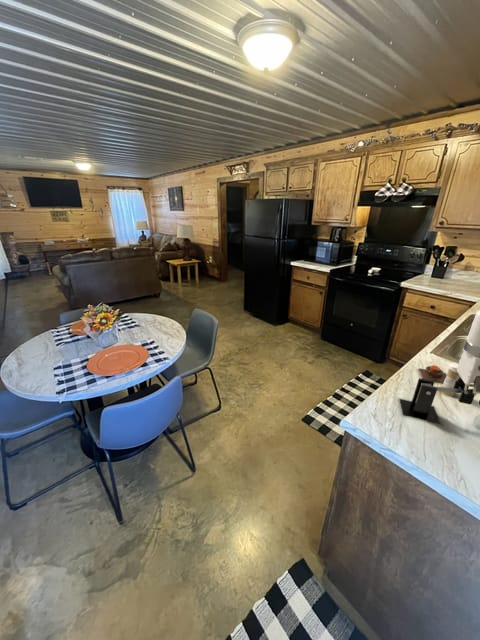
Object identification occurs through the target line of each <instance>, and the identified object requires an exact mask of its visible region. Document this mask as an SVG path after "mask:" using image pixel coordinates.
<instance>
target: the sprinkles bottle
mask: <svg viewBox="0 0 480 640" xmlns="http://www.w3.org/2000/svg"><path fill="white" fill-rule="evenodd" d="M458 364H459V362H458V363H457V362H451V363H450V364H449V366H448V371H447V373H446V375H447V376H446V378H445V381H444V383H442V387H444V388H454V385H455V382H456V381H457V380H456V378H457V376H458V372H457V367H458ZM441 393H442V394H444V395H446V396H448V397H449V396H450V397H454V396H455V395H456V393H453V392H442V391H441Z"/></svg>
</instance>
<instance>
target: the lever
mask: <svg viewBox="0 0 480 640" xmlns="http://www.w3.org/2000/svg"><path fill="white" fill-rule="evenodd" d="M421 385H425V386H430V387H435V388H437V392H441V393H442V392H453V393H455V394H461V393H462V391H464V387H463V386H462V385H459V386H458V389H455V388H444V387H443V386H434V385H433V386H432V385H431V384H429V383H421Z"/></svg>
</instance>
